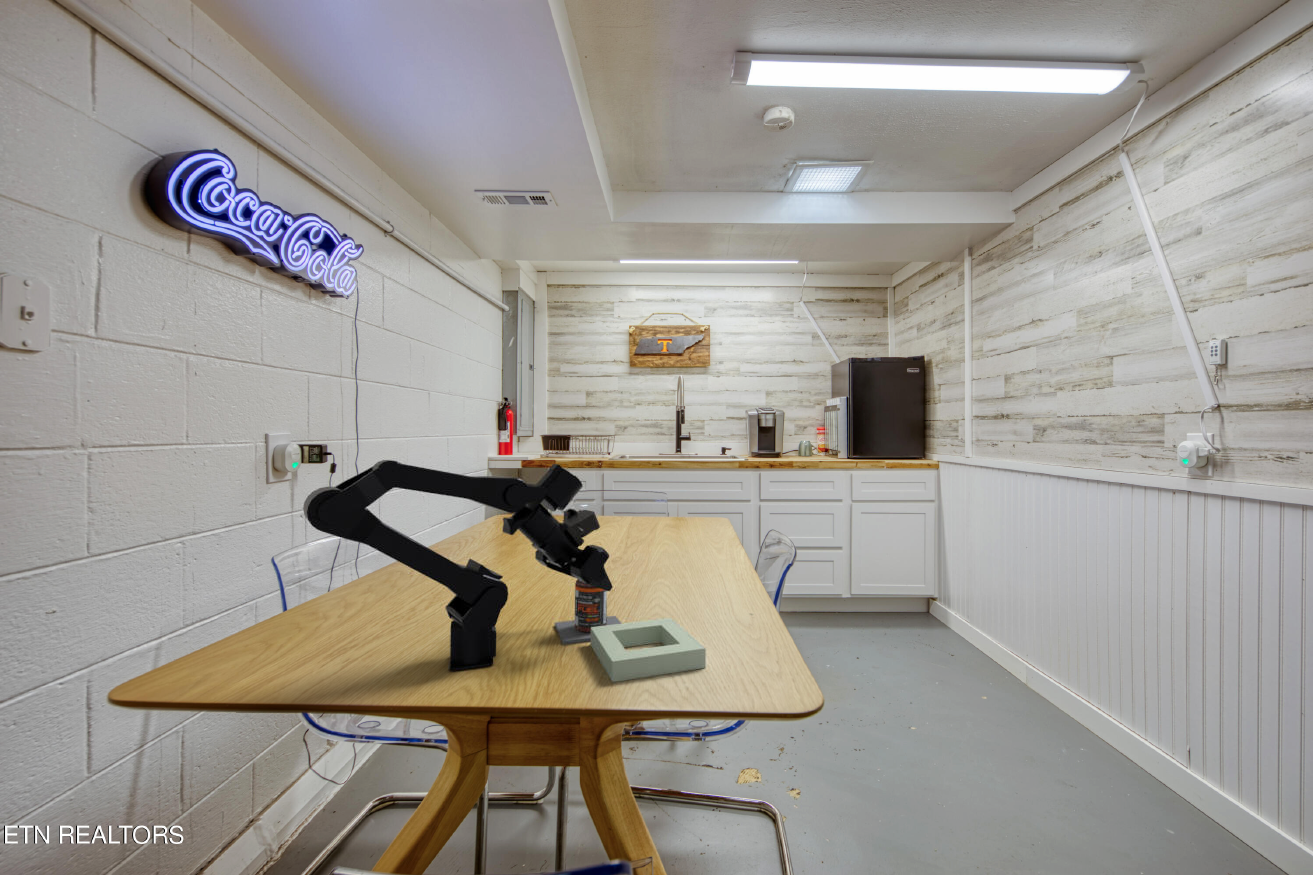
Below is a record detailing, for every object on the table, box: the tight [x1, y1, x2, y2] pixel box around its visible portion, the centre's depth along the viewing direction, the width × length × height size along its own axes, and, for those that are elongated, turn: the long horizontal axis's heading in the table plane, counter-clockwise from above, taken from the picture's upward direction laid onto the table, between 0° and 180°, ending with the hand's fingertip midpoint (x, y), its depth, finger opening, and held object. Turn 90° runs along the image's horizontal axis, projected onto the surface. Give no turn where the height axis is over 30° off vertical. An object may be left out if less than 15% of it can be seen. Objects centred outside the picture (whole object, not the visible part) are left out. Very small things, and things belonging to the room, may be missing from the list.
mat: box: [554, 615, 623, 646], centre depth 95 cm, size 12×10×1 cm
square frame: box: [590, 617, 707, 683], centre depth 84 cm, size 15×15×3 cm
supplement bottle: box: [574, 578, 608, 633], centre depth 95 cm, size 6×6×11 cm
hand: (597, 583), depth 96 cm, fingers open, 9 cm apart
